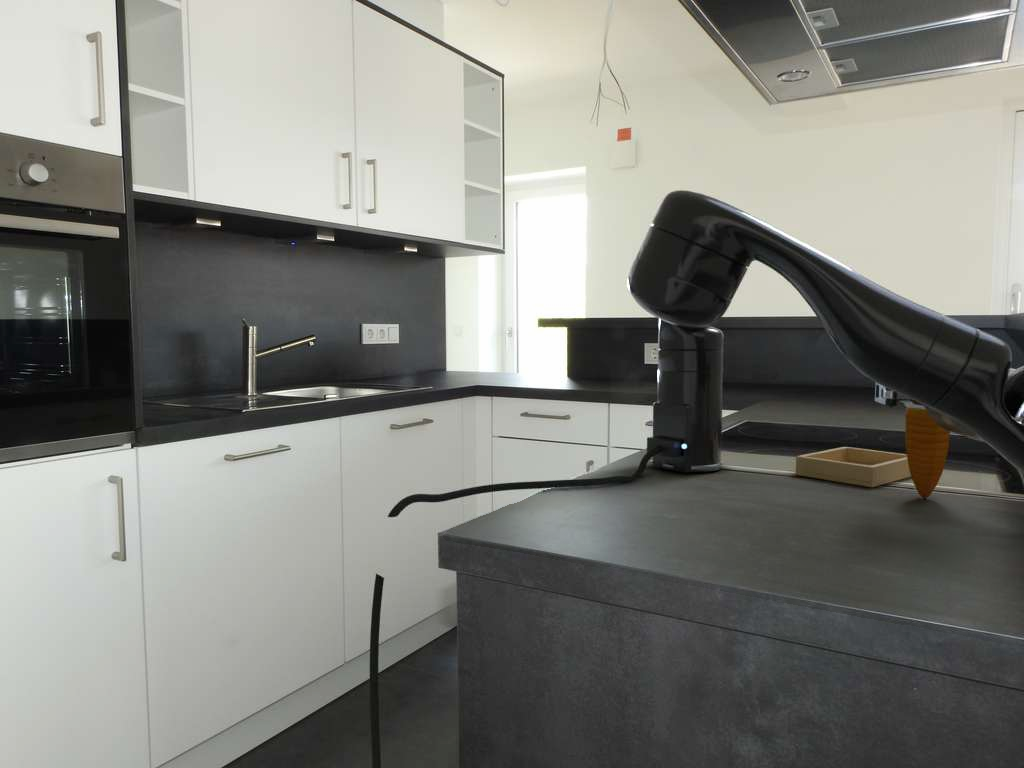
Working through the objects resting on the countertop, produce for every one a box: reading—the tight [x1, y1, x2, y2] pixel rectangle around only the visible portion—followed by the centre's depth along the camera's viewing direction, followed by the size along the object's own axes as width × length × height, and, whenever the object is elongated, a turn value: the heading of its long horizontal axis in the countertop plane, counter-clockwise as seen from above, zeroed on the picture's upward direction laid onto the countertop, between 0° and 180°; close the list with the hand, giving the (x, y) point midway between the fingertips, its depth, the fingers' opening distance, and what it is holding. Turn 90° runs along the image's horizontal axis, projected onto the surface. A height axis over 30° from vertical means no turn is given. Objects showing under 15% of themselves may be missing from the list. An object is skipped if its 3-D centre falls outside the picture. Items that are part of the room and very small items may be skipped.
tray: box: [795, 446, 912, 488], centre depth 100 cm, size 14×11×3 cm
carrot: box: [904, 407, 951, 500], centre depth 85 cm, size 5×5×15 cm
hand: (922, 388), depth 87 cm, fingers open, 7 cm apart
